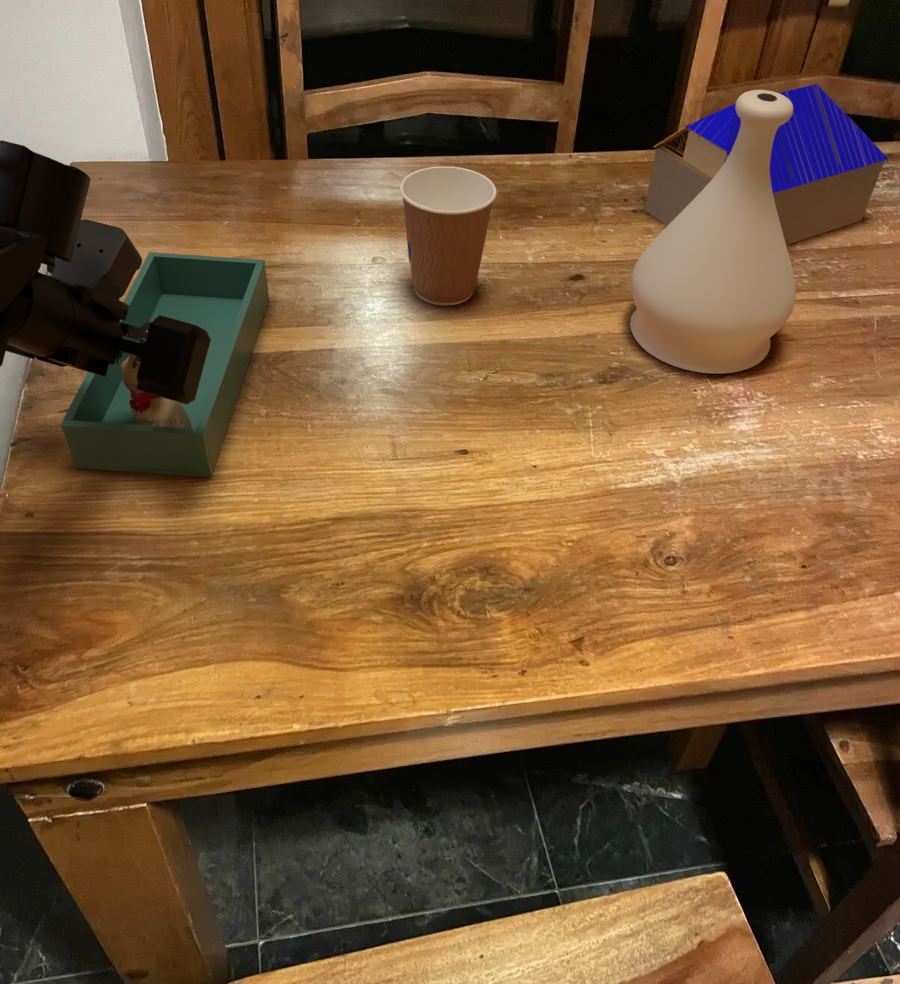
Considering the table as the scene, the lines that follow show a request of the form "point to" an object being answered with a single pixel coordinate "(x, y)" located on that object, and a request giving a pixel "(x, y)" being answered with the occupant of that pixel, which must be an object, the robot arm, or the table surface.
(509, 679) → the table surface
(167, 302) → the bin
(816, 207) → the house
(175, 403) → the chocolate bunny
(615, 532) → the table surface
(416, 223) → the coffee cup
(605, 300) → the table surface
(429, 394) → the table surface
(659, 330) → the vase
